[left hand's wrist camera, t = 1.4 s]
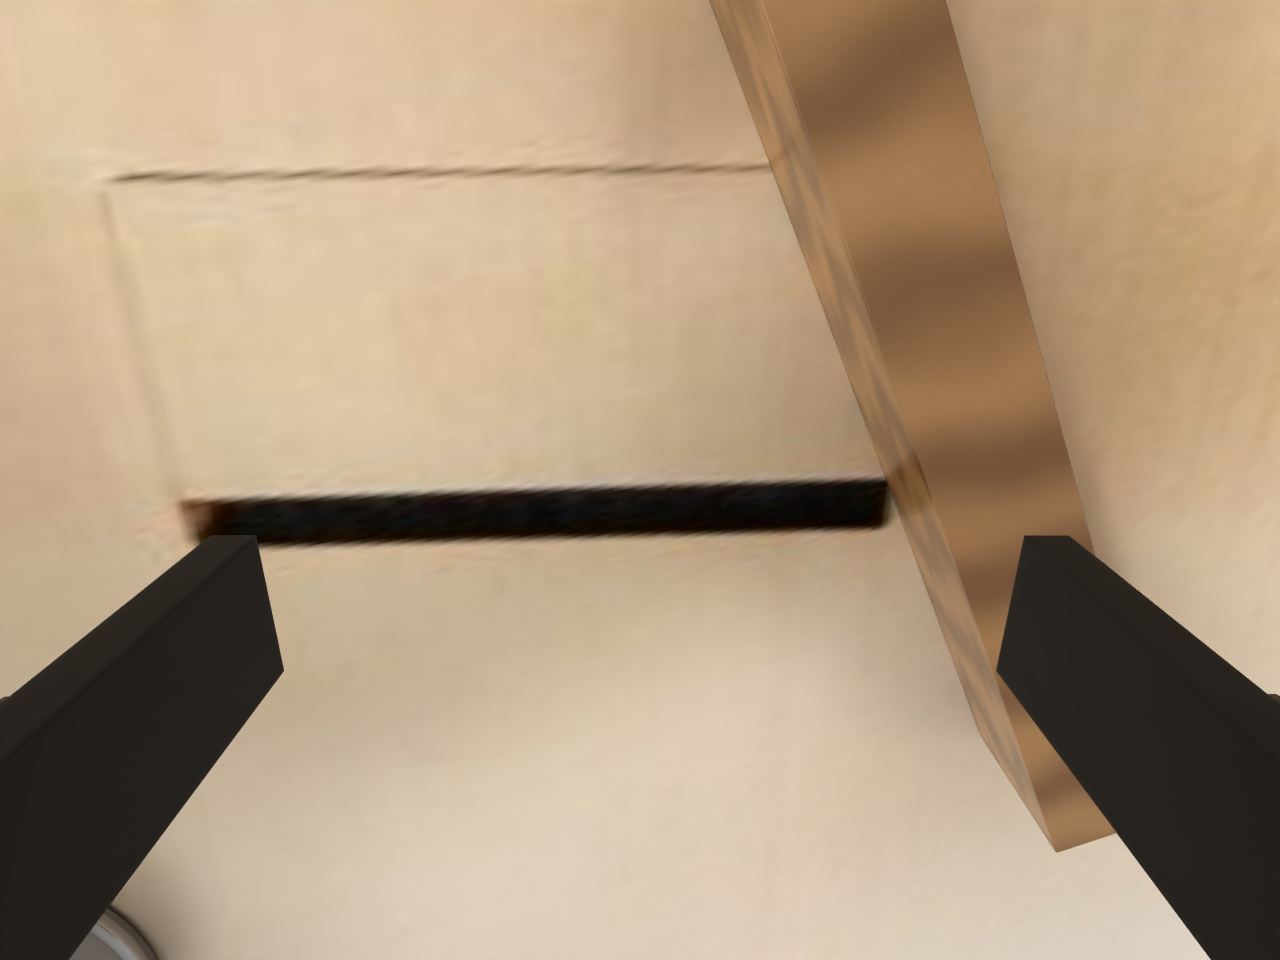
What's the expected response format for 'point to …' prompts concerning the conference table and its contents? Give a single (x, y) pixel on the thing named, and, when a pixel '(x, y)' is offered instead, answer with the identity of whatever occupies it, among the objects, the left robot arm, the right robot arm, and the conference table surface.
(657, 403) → the conference table surface
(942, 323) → the bar
